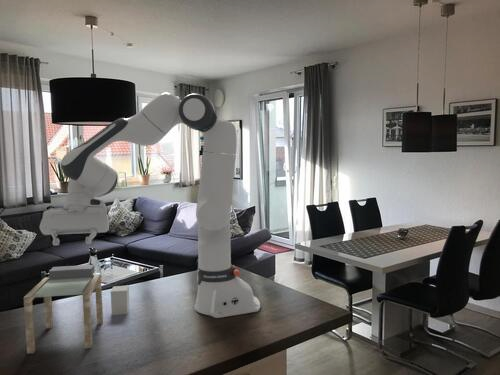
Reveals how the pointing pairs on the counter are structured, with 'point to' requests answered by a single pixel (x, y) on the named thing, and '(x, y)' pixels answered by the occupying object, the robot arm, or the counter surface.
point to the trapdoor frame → (49, 317)
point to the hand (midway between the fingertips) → (72, 243)
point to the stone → (120, 300)
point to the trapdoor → (67, 281)
